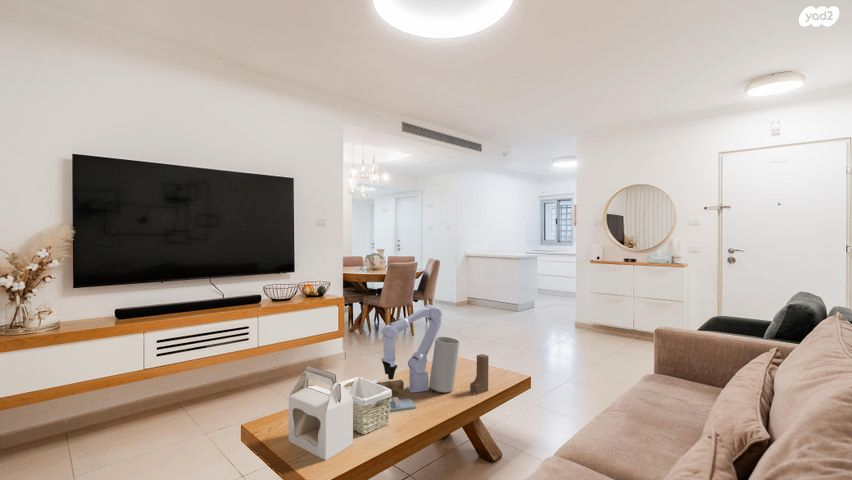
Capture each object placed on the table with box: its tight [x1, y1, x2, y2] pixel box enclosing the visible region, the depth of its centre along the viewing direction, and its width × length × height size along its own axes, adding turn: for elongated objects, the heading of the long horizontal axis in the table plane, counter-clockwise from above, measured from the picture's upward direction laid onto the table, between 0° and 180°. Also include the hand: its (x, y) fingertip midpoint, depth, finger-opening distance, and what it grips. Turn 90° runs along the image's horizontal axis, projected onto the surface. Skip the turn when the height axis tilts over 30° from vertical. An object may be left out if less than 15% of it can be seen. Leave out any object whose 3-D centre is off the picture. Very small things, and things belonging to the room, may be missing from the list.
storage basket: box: [329, 376, 392, 435], centre depth 166 cm, size 24×16×15 cm
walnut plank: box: [375, 379, 405, 397], centre depth 195 cm, size 14×4×6 cm, turn 110°
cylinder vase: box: [428, 336, 460, 393], centre depth 201 cm, size 12×12×25 cm
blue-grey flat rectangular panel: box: [390, 398, 417, 413], centre depth 180 cm, size 16×9×1 cm, turn 109°
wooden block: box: [469, 353, 489, 395], centre depth 199 cm, size 9×4×18 cm, turn 128°
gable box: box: [288, 365, 354, 461], centre depth 148 cm, size 22×13×28 cm, turn 54°
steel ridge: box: [391, 396, 401, 408], centre depth 180 cm, size 2×7×2 cm, turn 19°
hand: (389, 376), depth 195 cm, fingers open, 7 cm apart
